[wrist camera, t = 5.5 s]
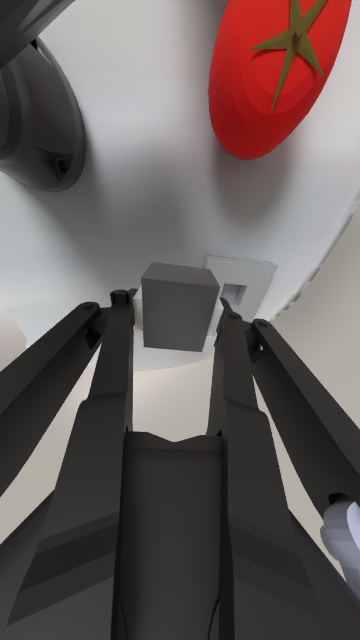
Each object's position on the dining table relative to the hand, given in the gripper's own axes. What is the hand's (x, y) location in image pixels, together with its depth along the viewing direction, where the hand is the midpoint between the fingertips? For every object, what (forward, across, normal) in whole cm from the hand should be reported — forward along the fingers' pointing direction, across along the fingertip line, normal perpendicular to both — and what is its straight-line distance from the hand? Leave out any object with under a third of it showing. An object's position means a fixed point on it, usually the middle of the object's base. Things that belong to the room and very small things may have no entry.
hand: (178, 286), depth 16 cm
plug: (+2, 0, 0) cm, 2 cm away
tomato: (+17, +7, +20) cm, 27 cm away
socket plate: (+17, +12, -6) cm, 22 cm away
